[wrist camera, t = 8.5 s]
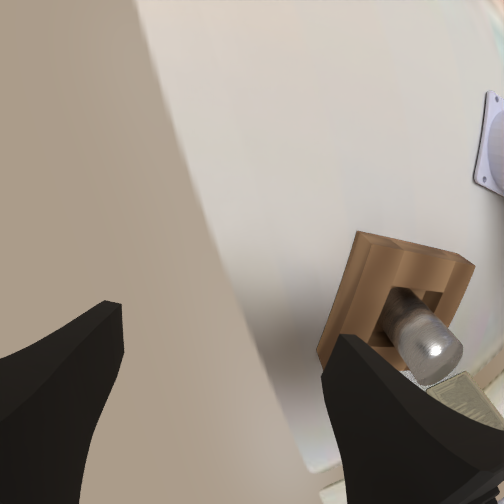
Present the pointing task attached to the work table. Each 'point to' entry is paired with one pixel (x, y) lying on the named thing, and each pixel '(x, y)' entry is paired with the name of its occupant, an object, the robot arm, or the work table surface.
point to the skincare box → (467, 400)
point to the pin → (419, 336)
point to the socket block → (382, 281)
